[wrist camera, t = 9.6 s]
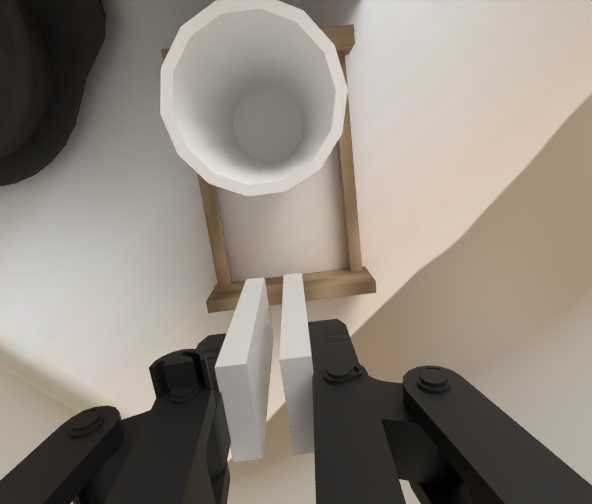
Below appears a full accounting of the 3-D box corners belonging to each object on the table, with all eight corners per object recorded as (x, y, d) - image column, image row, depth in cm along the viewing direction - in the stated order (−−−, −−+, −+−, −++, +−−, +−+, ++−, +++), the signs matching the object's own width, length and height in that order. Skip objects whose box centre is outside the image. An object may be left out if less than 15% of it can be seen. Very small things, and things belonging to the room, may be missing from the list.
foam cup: (345, 126, 31) (385, 102, 18) (271, 204, 32) (259, 231, 20) (265, 39, 29) (246, -55, 16) (190, 126, 31) (120, 100, 18)
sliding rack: (218, 294, 34) (208, 312, 30) (174, 60, 29) (155, 44, 25) (365, 276, 34) (376, 292, 30) (347, 38, 29) (356, 17, 25)
